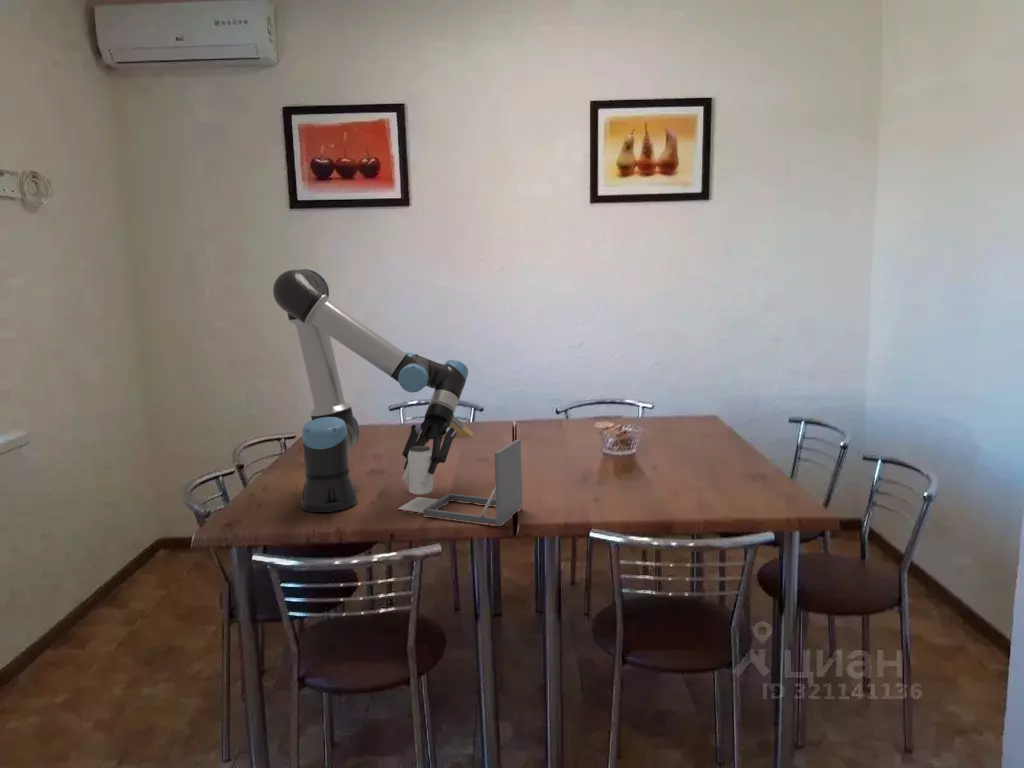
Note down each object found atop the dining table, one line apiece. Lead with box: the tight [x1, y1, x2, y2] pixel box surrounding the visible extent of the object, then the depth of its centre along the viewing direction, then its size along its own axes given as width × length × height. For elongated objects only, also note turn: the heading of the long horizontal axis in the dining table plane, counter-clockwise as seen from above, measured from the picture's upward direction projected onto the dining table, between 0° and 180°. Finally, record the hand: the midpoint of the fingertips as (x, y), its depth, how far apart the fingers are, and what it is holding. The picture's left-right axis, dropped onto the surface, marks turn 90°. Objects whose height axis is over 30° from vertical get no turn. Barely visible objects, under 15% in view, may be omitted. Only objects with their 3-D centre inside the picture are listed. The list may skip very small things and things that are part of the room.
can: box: [408, 445, 434, 496], centre depth 192 cm, size 6×6×12 cm
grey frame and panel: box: [422, 439, 523, 526], centre depth 185 cm, size 22×14×19 cm, turn 66°
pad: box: [397, 496, 439, 512], centre depth 193 cm, size 8×10×1 cm
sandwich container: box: [442, 415, 474, 439], centre depth 271 cm, size 9×15×15 cm, turn 91°
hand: (414, 482), depth 188 cm, fingers closed on can, 5 cm apart
